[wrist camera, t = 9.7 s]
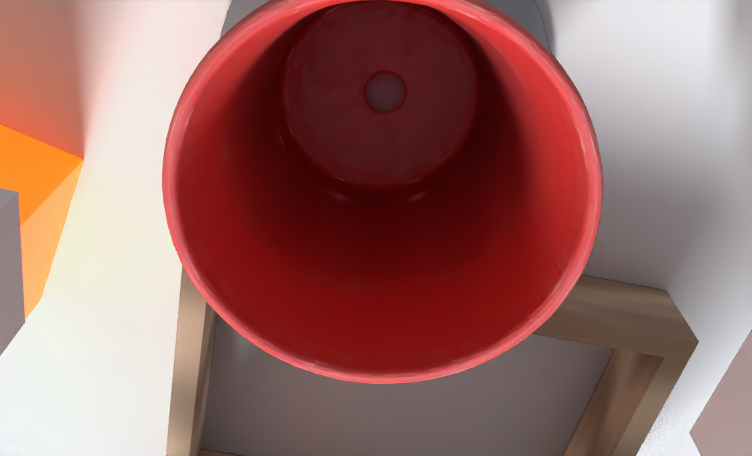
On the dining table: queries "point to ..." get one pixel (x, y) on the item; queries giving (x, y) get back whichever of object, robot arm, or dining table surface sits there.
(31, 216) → the orange juice
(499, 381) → the dining table surface
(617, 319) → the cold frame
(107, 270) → the dining table surface
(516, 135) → the flower pot
